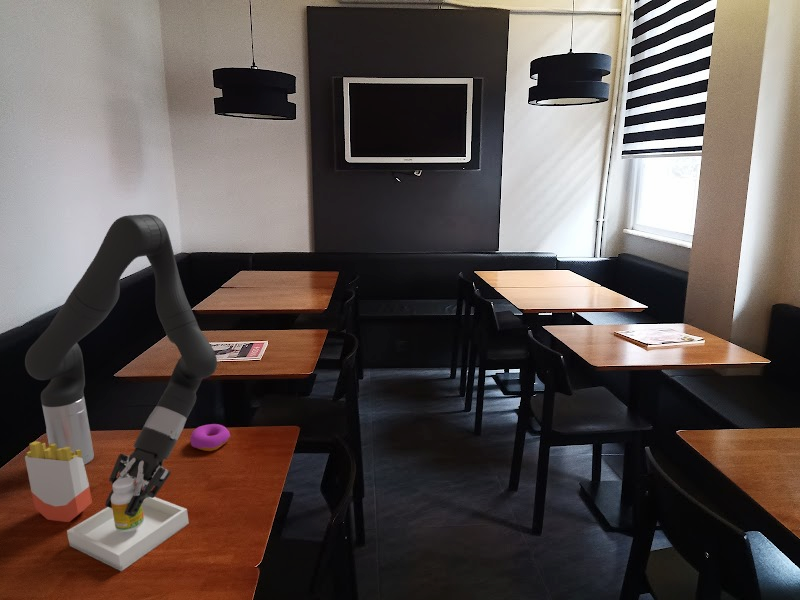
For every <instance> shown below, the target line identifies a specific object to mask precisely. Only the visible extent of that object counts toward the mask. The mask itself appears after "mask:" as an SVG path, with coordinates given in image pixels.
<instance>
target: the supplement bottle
mask: <svg viewBox="0 0 800 600" xmlns="http://www.w3.org/2000/svg"><path fill="white" fill-rule="evenodd" d="M136 487H137V486H136V481H134V479H133V478H130V477H127V478H122V479H119V480H117V481H115V482H114V483H113V484H112V489H113V492H114V493H113V494H112V496H111V504H112V510H113V516H114V522H115V528H116V529H117V530H118V531H120V532H127V531H132V530H134V529H136V528H138V527H139V526H141V525H142V523H143V521H144V515H143V509H142V505H141V506H140V508H139V510H138V512H137V513H136V515H135V516H134V517H131V516H128V515H125V514H124V512H125V510H126V508H127V506H128V504H129V503H130V501H131V499H132V497H133V495H134V496H136V495H135V491H136Z"/></svg>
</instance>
